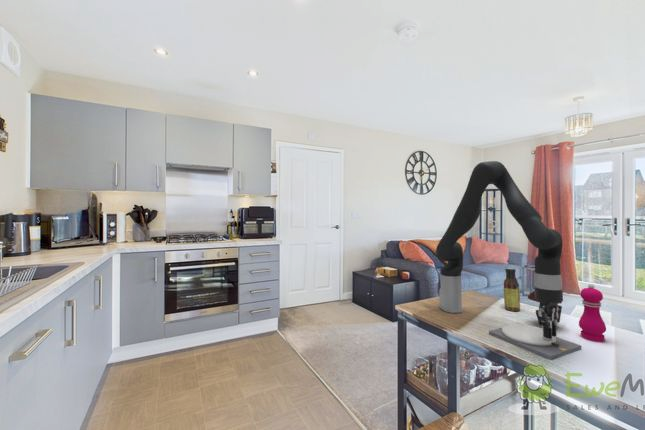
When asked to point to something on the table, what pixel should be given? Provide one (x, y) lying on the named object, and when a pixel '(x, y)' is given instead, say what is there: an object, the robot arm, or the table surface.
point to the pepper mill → (592, 315)
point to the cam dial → (528, 335)
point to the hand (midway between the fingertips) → (550, 336)
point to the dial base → (543, 351)
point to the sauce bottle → (511, 291)
